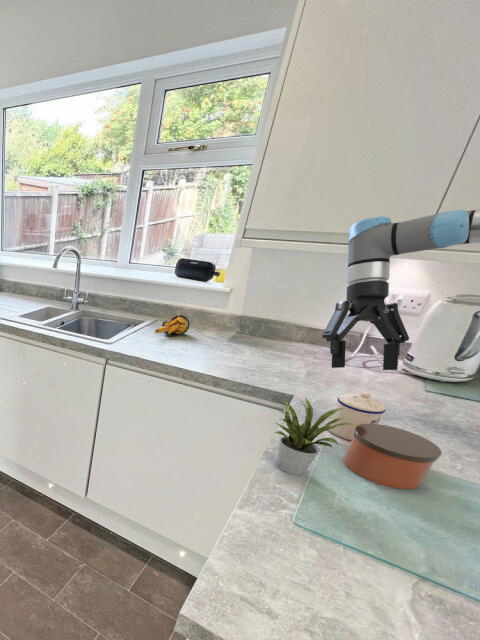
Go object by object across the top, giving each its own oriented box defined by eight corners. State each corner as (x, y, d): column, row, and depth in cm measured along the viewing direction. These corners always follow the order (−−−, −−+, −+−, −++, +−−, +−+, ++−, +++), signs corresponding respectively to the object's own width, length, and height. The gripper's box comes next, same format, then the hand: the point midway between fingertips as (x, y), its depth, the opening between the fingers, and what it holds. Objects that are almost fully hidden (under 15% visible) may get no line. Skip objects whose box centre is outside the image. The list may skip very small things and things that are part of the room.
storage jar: (410, 463, 95) (427, 433, 92) (434, 498, 84) (454, 465, 81) (335, 447, 101) (348, 418, 98) (348, 477, 90) (364, 446, 87)
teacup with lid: (366, 447, 101) (386, 404, 96) (320, 431, 108) (337, 391, 103) (378, 431, 108) (397, 391, 103) (334, 417, 114) (351, 379, 109)
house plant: (342, 470, 93) (372, 405, 86) (332, 498, 84) (365, 429, 77) (267, 444, 102) (289, 384, 95) (252, 468, 93) (275, 404, 86)
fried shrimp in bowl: (198, 324, 179) (183, 318, 166) (180, 344, 184) (164, 340, 171) (182, 312, 184) (166, 305, 171) (164, 332, 189) (147, 327, 177)
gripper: (398, 289, 107) (395, 371, 107) (306, 284, 106) (303, 367, 105) (432, 282, 99) (429, 370, 99) (333, 276, 98) (330, 365, 98)
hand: (364, 368), depth 102 cm, fingers open, 13 cm apart
